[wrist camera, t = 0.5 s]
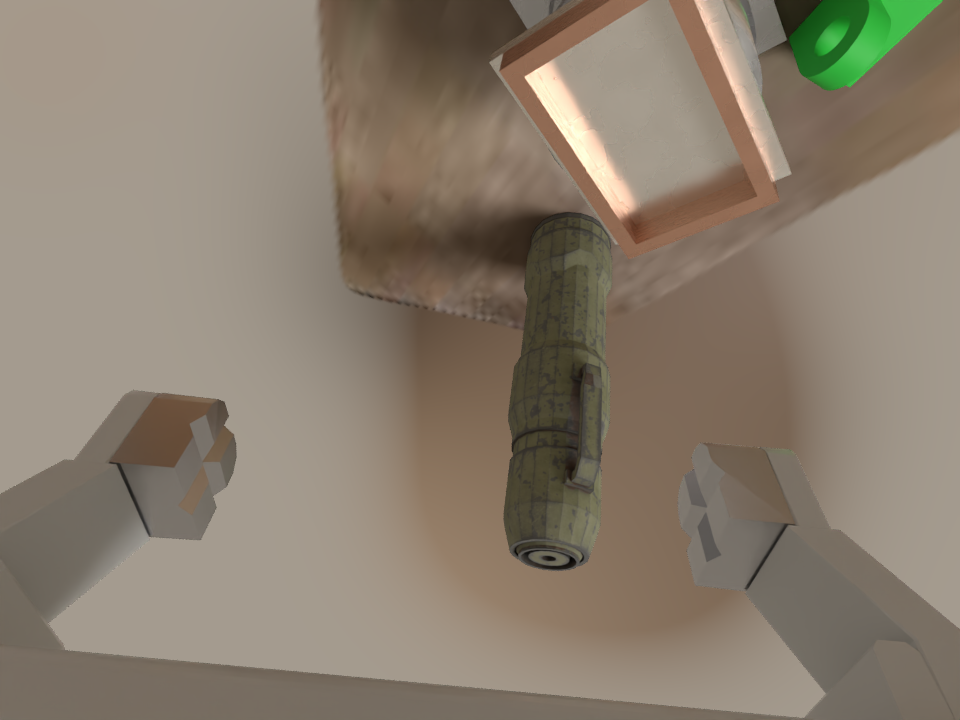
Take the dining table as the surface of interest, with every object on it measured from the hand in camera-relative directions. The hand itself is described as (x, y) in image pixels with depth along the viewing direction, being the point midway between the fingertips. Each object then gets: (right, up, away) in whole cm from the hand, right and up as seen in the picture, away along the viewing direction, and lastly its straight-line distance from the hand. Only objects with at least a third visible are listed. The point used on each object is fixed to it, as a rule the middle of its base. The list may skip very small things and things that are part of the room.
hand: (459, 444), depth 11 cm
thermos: (+10, +14, +57) cm, 59 cm away
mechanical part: (+30, +29, +34) cm, 53 cm away
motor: (+13, +29, +36) cm, 48 cm away
